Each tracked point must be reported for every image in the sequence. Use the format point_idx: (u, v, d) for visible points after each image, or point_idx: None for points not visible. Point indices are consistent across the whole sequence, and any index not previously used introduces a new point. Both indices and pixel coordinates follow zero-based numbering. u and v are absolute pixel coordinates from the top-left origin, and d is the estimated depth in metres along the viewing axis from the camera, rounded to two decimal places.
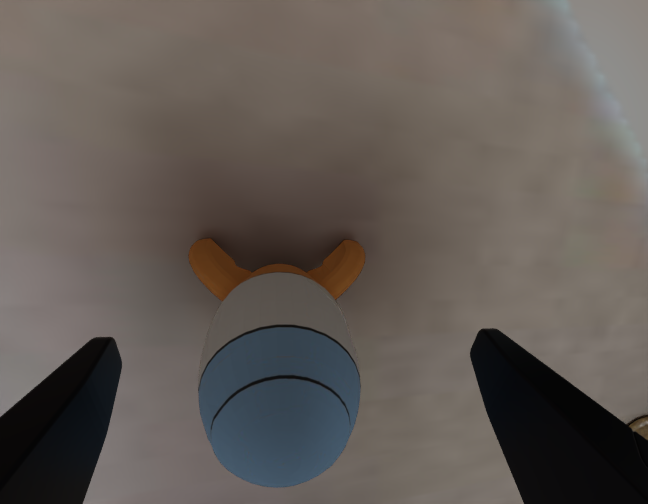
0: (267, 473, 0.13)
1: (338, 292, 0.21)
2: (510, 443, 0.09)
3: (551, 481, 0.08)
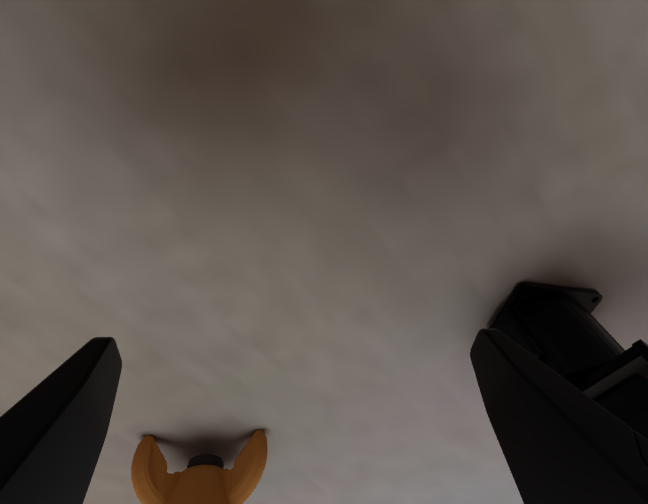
0: None
1: None
2: (510, 443, 0.09)
3: (551, 481, 0.08)
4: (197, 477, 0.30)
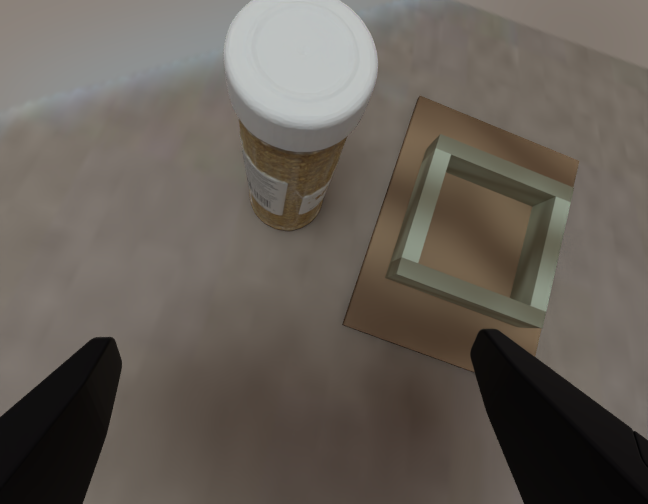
0: None
1: None
2: (510, 443, 0.09)
3: (551, 481, 0.08)
4: None
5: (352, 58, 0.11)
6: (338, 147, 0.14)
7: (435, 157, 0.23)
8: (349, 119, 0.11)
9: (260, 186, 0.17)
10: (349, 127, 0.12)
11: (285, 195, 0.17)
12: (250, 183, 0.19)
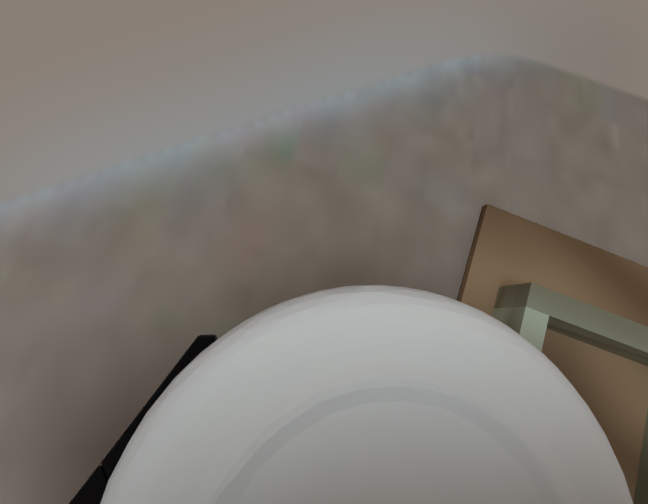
0: None
1: None
2: None
3: None
4: None
5: None
6: None
7: (526, 322, 0.15)
8: None
9: None
10: None
11: None
12: None
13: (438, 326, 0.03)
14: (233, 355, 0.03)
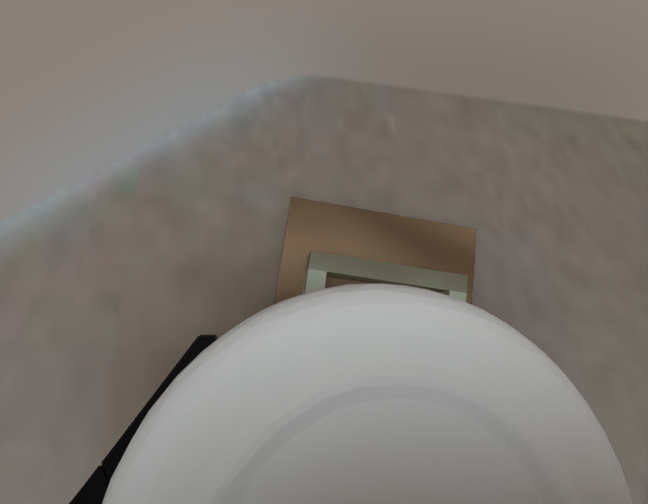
0: None
1: None
2: None
3: None
4: None
5: None
6: None
7: (309, 279, 0.21)
8: None
9: None
10: None
11: None
12: None
13: (439, 324, 0.03)
14: (234, 354, 0.03)
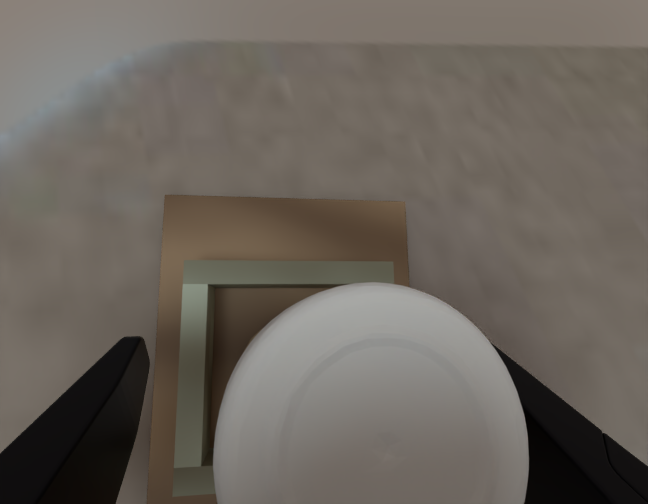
0: None
1: None
2: None
3: None
4: None
5: (487, 452, 0.05)
6: None
7: (186, 297, 0.16)
8: None
9: None
10: None
11: None
12: None
13: (409, 304, 0.06)
14: (295, 321, 0.05)
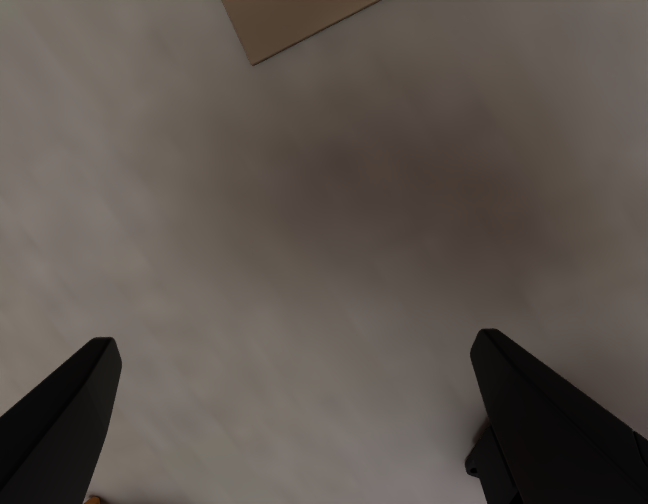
0: None
1: None
2: (510, 443, 0.09)
3: (551, 481, 0.08)
4: None
5: None
6: None
7: None
8: None
9: None
10: None
11: None
12: None
13: None
14: None
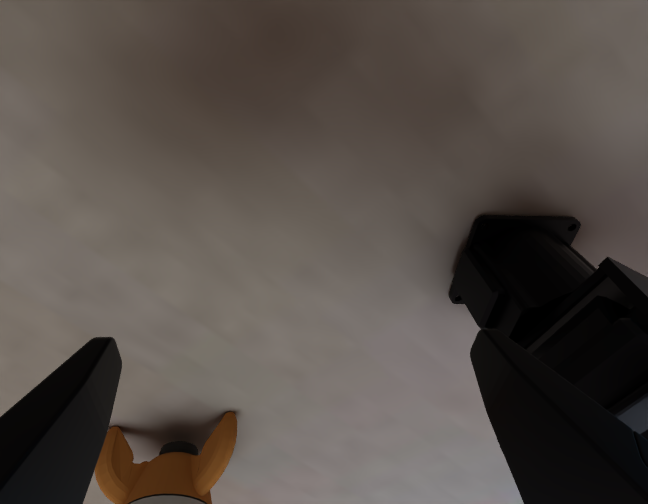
0: None
1: (116, 503, 0.27)
2: (510, 443, 0.09)
3: (551, 481, 0.08)
4: (162, 465, 0.28)
5: None
6: None
7: None
8: None
9: None
10: None
11: None
12: None
13: None
14: None
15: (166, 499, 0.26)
